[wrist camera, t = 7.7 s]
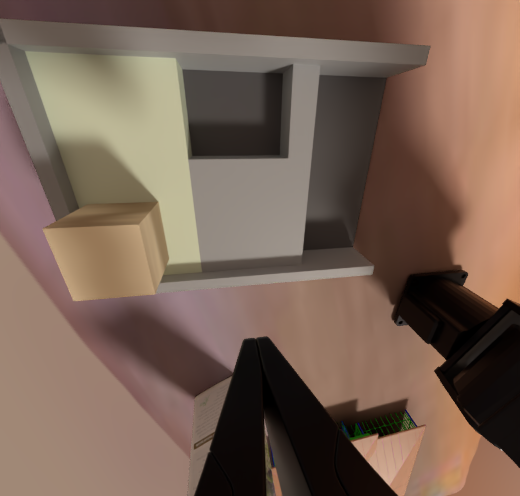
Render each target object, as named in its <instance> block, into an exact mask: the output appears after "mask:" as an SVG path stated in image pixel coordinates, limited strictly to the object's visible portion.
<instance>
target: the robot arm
mask: <svg viewBox="0 0 520 496" xmlns="http://www.w3.org/2000/svg"><path fill="white" fill-rule="evenodd" d="M467 276H468V273H467V272H465V271H464V270H457V271H446V272H435V273H424V274H413V275H411V276H410V277H409V278H408V281H407V284H406V287H405V290H404V293H403V296H402V299H401V302H400V305H399V307H398V310H397V313H396V316H395V319H394V323H395V324H396V325H397V326H403V325H409V326H410V327H411V328H412V329H413V330H414V331H415V332H416V333H417V334H418V335H419V336H420V337H421V338H422V339H423V340H424V341H425V342H426V343H427V344H431V345H432V346H433V347H434V348H435V349H436V350H437V351H438V352H439V353H440V354H441V355H442V356H443V357H444V358H445V359H446V361H445V362H444V363H443V364H442V365H441V366H440V367H437V368H436V369H435V370H434V372H435V373H436V375H437V376H438V378H439V379H440V381H441V383H442V384H443V386H444V387H445V389H446V390H447V392H448V393H449V395H450V396H451V398H452V399H453V401H454V402H455V404H456V405H457V407H458V408H459V410H460V411H461V413H462V414H463V416H464V417H465V419H466V420H467V422H468V423H469V424H470V425H471V426H472V427H473V428H474V429H475V431H476V432H478V433H479V434H480V435H482V436H483V437H485V438H486V439H487V440H488V441H489V442H490V443H492V444H493V445H494V446H496V447H498V448H499V449H500V450H502V451H504V452H505V453H506V454H507V455H508V456H509V457H510V458H511V459H512V460H513V461H514V462H515V464H517V466H518V467H519V468H520V304H518V303H516V302H514V301H512V300H509V299H506V300H505V301H504V302H503V303H502V304H503V305H502V306H501V307H500V308H497V307H495V306H494V305H492V304H491V303H489V302H488V301H486V300H484V299H483V298H481V297H480V296H478V295H476V294H475V293H473V292H472V291H470V290H469V289H467V288H465V287H464V286H463V285H464V283H465V280H466V278H467ZM264 419H265V423H266V428H267V432H268V436H269V441H270V445H271V449H272V453H273V458H274V462H275V466H276V471H277V475H278V479H279V483H280V488H281V492H282V496H398V495H397V494H396V493H395V492H394V490H393V489H392V488H391V487H390V486H389V485H388V484H387V483H386V482H385V481H384V480H383V478H382V477H381V476H380V475H379V474H378V473H377V472H376V471H375V470H374V468H373V467H372V466H371V465H370V464H369V463H368V462H367V460H366V459H365V458H364V457H363V456H362V454H361V453H360V452H359V451H358V450H357V448H356V447H355V446H354V445H353V444H352V442H351V441H350V440H349V438H348V437H347V436H346V435H345V433H344V432H343V431H342V430H341V429H339V426H338V425H337V423H336V422H335V421H334V420H333V418H332V417H331V416H330V415H329V413H328V412H327V411H326V409H325V408H324V407H323V406H322V404H321V403H320V402H319V401H318V399H317V398H316V397H315V396H314V394H313V393H312V392H311V390H310V389H309V388H308V387H307V385H306V384H305V383H304V382H303V380H302V379H301V378H300V377H299V375H298V374H297V373H296V371H295V370H294V369H293V368H292V366H291V365H290V364H289V363H288V361H287V360H286V359H285V358H284V356H283V355H282V354H281V352H280V351H279V350H278V349H277V347H276V346H275V345H274V344H273V342H272V341H271V340H270V339H269V337H258V338H256V339H255V338H248V339H244V340H243V343H242V346H241V349H240V352H239V356H238V359H237V362H236V365H235V368H234V372H233V375H232V378H231V381H230V384H229V388H228V391H227V394H226V397H225V400H224V404H223V407H222V410H221V413H220V416H219V420H218V423H217V426H216V429H215V432H214V436H213V439H212V442H211V445H210V449H209V451H210V452H208V454H207V458H206V461H205V464H204V467H203V470H202V473H201V476H200V479H199V482H198V485H197V488H196V491H195V494H194V496H267V491H266V461H265V431H264Z"/></svg>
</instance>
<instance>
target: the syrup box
mask: <svg viewBox="0 0 520 496" xmlns="http://www.w3.org/2000/svg"><path fill="white" fill-rule="evenodd" d="M231 378H232V376H231V377H229V378H227V379H225V380H223V381H221V382H219V383H218V384H216V385H214V386H213V387H211V388H209V389H208V390H206V391H204V392H203V393H201V394H199V395H198V396H196V397H195V402H194V417H193V430H192V442H191V455H190V467H189V479H188V491H187V496H194V494H195V491H196V488H197V485H198V482H199V479H200V476H201V473H202V470H203V467H204V464H205V461H206V458H207V454H208V452H210V451H209V449H210V445H211V442H212V439H213V436H214V432H215V429H216V426H217V423H218V420H219V416H220V413H221V410H222V407H223V404H224V400H225V397H226V394H227V391H228V388H229V384H230V381H231ZM264 431H265V426H264ZM265 461H266V491H267V496H276V493H275V487H274V481H273V475H272V469H271V463H270V456H269V451H268V444H267V438H266V432H265Z"/></svg>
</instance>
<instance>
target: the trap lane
mask: <svg viewBox="0 0 520 496" xmlns="http://www.w3.org/2000/svg"><path fill="white" fill-rule="evenodd" d="M429 50H430V46H425V45H410V44H394V43H378V42H362V41H347V40H331V39H315V38H299V37H284V36H268V35H252V34H236V33H221V32H205V31H189V30H173V29H158V28H142V27H126V26H110V25H95V24H79V23H63V22H47V21H32V20H16V19H0V81H1V84H2V86H3V89H4V91H5V94H6V96H7V99H8V101H9V104H10V106H11V109H12V111H13V114H14V116H15V119H16V121H17V124H18V126H19V129H20V131H21V134H22V136H23V139H24V141H25V144H26V146H27V149H28V151H29V154H30V156H31V159H32V161H33V164H34V166H35V169H36V171H37V174H38V176H39V179H40V181H41V184H42V186H43V189H44V191H45V194H46V196H47V199H48V201H49V204H50V206H51V209H52V211H53V214H54V216H55V219H56V221H58V220H60V219H61V218H63V217H65V216H67V215H69V214H70V213H72V212H74V211H76V210H78V209H80V208H81V207H83V206H85V205H87V204H107V203H138V202H159V207H160V212H161V218H162V223H163V228H164V234H165V239H166V244H167V250H168V255H169V261H168V263H167V266H166V268H165V271H164V273H163V276H162V278H161V281H160V283H159V286H158V289H157V291H156V293H166V292H178V291H189V290H201V289H212V288H224V287H235V286H247V285H259V284H270V283H282V282H293V281H305V280H316V279H328V278H339V277H351V276H362V275H372V274H373V270H374V265H373V264H372V263H371V262H370V261H368V260H367V259H366V258H365V257H364V256H363V255H361V254H360V253H359V252H358V251H357V250H356V249H354V248H353V244H354V239H355V234H356V229H357V224H358V219H359V214H360V209H361V204H362V199H363V194H364V189H365V184H366V179H367V174H368V169H369V164H370V159H371V154H372V149H373V144H374V139H375V134H376V129H377V124H378V119H379V114H380V109H381V104H382V98H383V93H384V88H385V83H386V78H387V77H390V76H393V75H396V74H400V73H403V72H406V71H409V70H412V69H415V68H418V67H421V66H424V65H426V62H427V58H428V54H429Z"/></svg>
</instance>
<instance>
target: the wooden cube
mask: <svg viewBox="0 0 520 496" xmlns="http://www.w3.org/2000/svg"><path fill="white" fill-rule="evenodd" d="M43 231H44V233H45V236H46V238H47V240H48V243H49V245H50V247H51V250H52V252H53V254H54V257H55V259H56V261H57V264H58V266H59V268H60V271H61V273H62V275H63V278H64V280H65V282H66V285H67V287H68V289H69V292H70V294H71V296H72V298H73V301H82V300H94V299H106V298H117V297H129V296H141V295H153V294H156V291H157V289H158V286H159V283H160V281H161V278H162V276H163V273H164V271H165V268H166V266H167V263H168V261H169V255H168V250H167V244H166V239H165V234H164V228H163V223H162V218H161V212H160V207H159V202H138V203H107V204H87V205H85V206H83V207H81V208H80V209H78V210H76V211H74V212H72V213H70V214H69V215H67V216H65V217H63V218H61V219H60V220H58V221H56V222H54V223H52V224H50V225H49V226H47V227H45V228H43Z"/></svg>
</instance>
